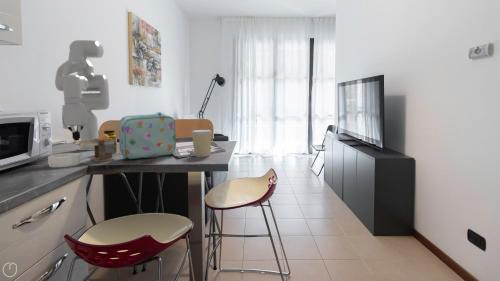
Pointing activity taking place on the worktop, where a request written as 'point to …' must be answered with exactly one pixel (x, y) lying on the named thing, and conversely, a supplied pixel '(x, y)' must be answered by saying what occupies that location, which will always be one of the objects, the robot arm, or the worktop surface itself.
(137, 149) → the lunch box
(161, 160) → the worktop surface
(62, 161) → the bowl
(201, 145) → the coffee cup
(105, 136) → the ball
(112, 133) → the condiment
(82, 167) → the worktop surface
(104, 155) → the stand
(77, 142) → the lever
